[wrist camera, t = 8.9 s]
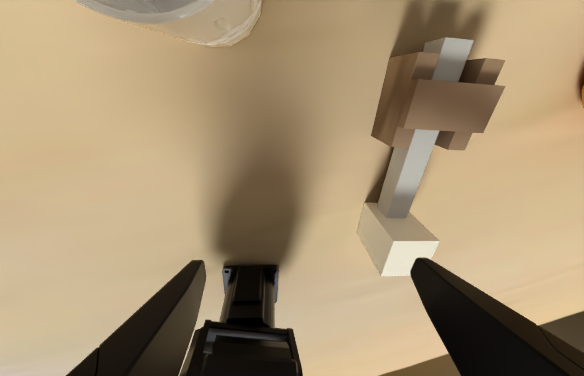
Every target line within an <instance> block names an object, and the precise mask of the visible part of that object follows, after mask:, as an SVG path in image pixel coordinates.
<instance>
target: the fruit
mask: <svg viewBox="0 0 584 376" xmlns="http://www.w3.org/2000/svg"><path fill="white" fill-rule="evenodd" d="M582 103H583V107H584V85H583V88H582Z"/></svg>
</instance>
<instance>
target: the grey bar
mask: <svg viewBox="0 0 584 376" xmlns="http://www.w3.org/2000/svg"><path fill="white" fill-rule="evenodd" d="M473 42H474V40H467V39H458V38H448V37H445V38H441V39H437V40H433V41H429V42H425V45H424V49H423V52H427V53H437V54H439V58H438V61H437V64H436V67H435V70H434V73H433V76H432V79H431V80H437V81H449V82H458V81H459V78H460V76H461V73H462V70H463V68H464V65H465V63H466V60H467V57H468V55H469V52H470V49H471V47H472V44H473ZM438 133H439V131H437V130H420V129H415V131H414V134H413V137H412V140H411V143H410V146H409V148H404V147H394V151H393V154H392V157H391V161H390V164H389V167H388V171H387V174H386V178H385V181H384V184H383V188H382V191H381V195H380V198H379V201H378V203H364V207H363V210H362V214H361V218H360V222H359V226H358V230H357V234H358V236H359V238H360V239H361V241H362V243H363V245H364V247H365V249H366V250H367V252H368V254H369V256H370V258H371V259H372V261H373V263H374V265H375V267H376V268H377V270H378V272H379V274H380V276H411V274H410V271H411V268H412V266H413V264H414V261H415V259H416V258H419V257H425V258H429V259H430V260H431V258H432V256H433V254H434V252H435V250H436V248H437V246H438V244H439V242H440V241H439V240H438V239H437V238H436V237H435V236H434V235H433V234H432V233H431V232H430V231H429V230H428V229H427V228H426V227H425V226H424V225H423V224H421V223H420V222H419V221H418V220H417V219H416V218H415V217H414V216H413V215H412V214H411V213H410V212H409V210H410V207H411V204H412V202H413V199H414V197H415V194H416V191H417V189H418V186H419V183H420V181H421V178H422V176H423V173H424V170H425V168H426V165H427V162H428V160H429V157H430V155H431V152H432V149H433V147H434V144H435V141H436V139H437V136H438Z"/></svg>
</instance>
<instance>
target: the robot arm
mask: <svg viewBox="0 0 584 376" xmlns="http://www.w3.org/2000/svg"><path fill="white" fill-rule="evenodd" d="M274 269H275V270H274ZM227 270H228V271H227ZM222 274H223V283H224V291H225V299H224V303H223V307H222V312H221V316H220V321H219V322H214V321H211V320H205V323H204V327H202V328H200V329H198V330H195V333H194V336H193V339H192V343H191V346H190V349H189V352H188V354H187V357H186V360H185V362H184V365H183V367H182V370H181V373H180V375H179V372H180V369H181V366H182V363H183V360H184V357H185V354H186V351H187V348H188V345H189V342H190V339H191V336H192V333H193V330H194V327H195V324H196V321H197V317H198V313H199V308H200V304H201V299H202V295H203V290H204V286H205V282H206V271H205V265H204V261H203V260H192V261H191V262H190V263H189V264H187V265H186V266H185V267H184V268H183V269H182V270H181V271H180V272H179V273H178V274H177V275H175V276H174V277H173V278H172V279H171V280H170V281H169V282H168V283H167V284H166V285H165V286H164V287H162V288H161V289H160V290H159V291H158V292H157V293H156V294H155V295H154V296H153V297H152V298H150V299H149V300H148V301H147V302H146V303H145V304H144V305H143V306H142V307H141V308H140V309H139V310H137V311H136V312H135V313H134V314H133V315H132V316H131V317H130V318H129V319H128V320H127V321H125V322H124V323H123V324H122V325H121V326H120V327H119V328H118V329H117V330H116V331H115V332H113V333H112V334H111V335H110V336H109V337H108V338H107V339H106V340H105V341H104V342H103V343H102V344H100V346H99V348H96V349H95V350H94V351H93V352H92V353H91V354H89V355H88V356H87V357H86V358H85V359H84V360H83V361H82V362H81V363H80V364H78V365H77V366H76V367H75V368H74V369H73V370H72V371H71V372H69V373H68V374H67V375H66V376H178V375H179V376H303V373H302V367H301V363H300V359H299V354H298V350H297V346H296V341H295V337H294V333H293V329H291V328H287V329H281V328H275V307H274V303H276V302H277V289H278V266H276V265H261V266H225V267H224V268H223V270H222ZM410 274H411V278H412V280H413V282H414V285H415V287H416V289H417V291H418V294H419V296H420V298H421V301H422V303H423V305H424V307H425V310H426V312H427V314H428V316H429V318H430V319H431V321H432V323H433V325H434V327H435V329H436V331H437V332H438V334H439V336H440V338H441V340H442V342H443V343H444V345H445V347H446V349H447V351H448V353H449V354H450V356H451V358H452V360H453V362H454V364H455V365H456V367H457V369H458V371H459V373H460V375H461V376H584V352H582V351H580V350H578V349H576V348H575V347H573V346H572V345H570V344H568V343H566V342H565V341H563V340H561V339H560V338H558V337H556V336H555V335H553V334H551V333H550V332H548V331H547V330H545V329H543V328H542V327H540V326H538V325H536V324H535V323H534V322H532V321H530V320H529V319H527V318H525V317H524V316H522V315H520V314H519V313H517V312H515V311H514V310H512V309H511V308H509V307H507V306H506V305H504V304H502V303H501V302H499V301H497V300H496V299H494V298H493V297H491V296H489V295H488V294H486V293H484V292H483V291H481V290H479V289H478V288H476V287H474V286H473V285H471V284H470V283H468V282H466V281H465V280H463V279H461V278H460V277H458V276H456V275H455V274H453V273H451V272H450V271H448V270H447V269H445V268H443V267H442V266H440V265H438V264H437V263H435V262H433V261H432V260H430V259H429V258H425V257H419V258H416V259H415V261H414V264H413V266H412V268H411V271H410Z"/></svg>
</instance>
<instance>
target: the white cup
mask: <svg viewBox="0 0 584 376" xmlns="http://www.w3.org/2000/svg"><path fill="white" fill-rule="evenodd" d="M74 1H75V2H77V3H79V4H81V5H83V6H85V7H87V8H89V9H91V10H94V11H96V12H98V13H101V14H103V15H106V16H109V17H112V18H115V19H118V20H121V21H125V22H128V23H131V24H134V25H137V26H140V27H143V28H146V29H149V30H152V31H155V32H158V33H161V34H164V35H167V36H170V37H173V38H177V39H180V40H184V41H188V42H192V43H196V44H202V45H206V46H209V47H224V46H232V45H234V44H235V43H237V42H239V41H240V40H242V39H243V38H245V37H247V36H248V35H249V34H250V32H251V31H252V29H253V27H254V25H255V23H256V22H257V20H258V18H259V16H260V15H261V10H262V1H263V0H74Z"/></svg>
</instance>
